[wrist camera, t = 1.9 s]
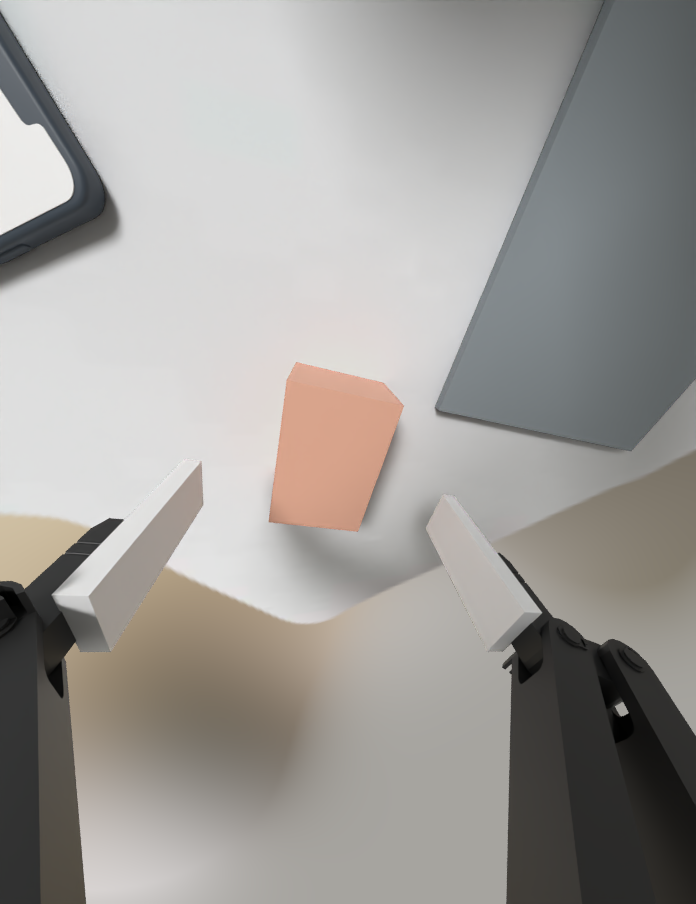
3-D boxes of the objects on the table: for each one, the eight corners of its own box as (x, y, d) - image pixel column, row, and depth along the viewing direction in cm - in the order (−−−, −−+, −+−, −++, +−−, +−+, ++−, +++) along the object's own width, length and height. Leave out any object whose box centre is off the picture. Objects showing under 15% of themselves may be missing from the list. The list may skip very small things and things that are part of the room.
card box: (296, 361, 17) (286, 380, 13) (382, 382, 19) (403, 405, 14) (280, 476, 22) (268, 522, 17) (350, 486, 23) (358, 531, 18)
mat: (617, -30, 11) (638, -54, 10) (874, 152, 14) (902, 144, 14) (434, 407, 20) (439, 410, 19) (622, 447, 24) (631, 451, 23)
